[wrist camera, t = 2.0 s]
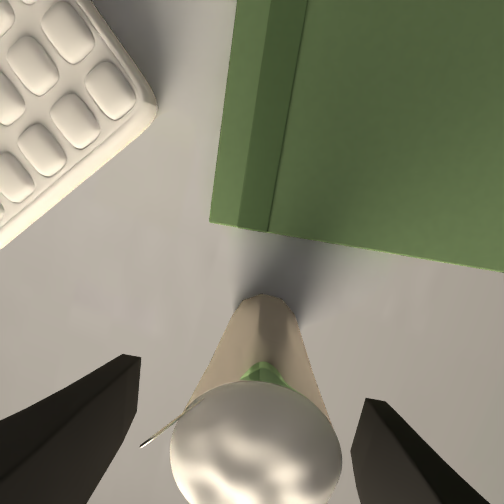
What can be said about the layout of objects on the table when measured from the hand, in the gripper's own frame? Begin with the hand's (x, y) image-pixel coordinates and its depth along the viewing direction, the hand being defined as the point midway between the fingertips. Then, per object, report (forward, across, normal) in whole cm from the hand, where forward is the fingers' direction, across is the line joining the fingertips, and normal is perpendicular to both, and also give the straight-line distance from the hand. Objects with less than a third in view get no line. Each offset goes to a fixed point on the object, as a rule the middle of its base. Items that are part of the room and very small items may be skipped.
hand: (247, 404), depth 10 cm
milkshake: (+6, 0, 0) cm, 7 cm away
